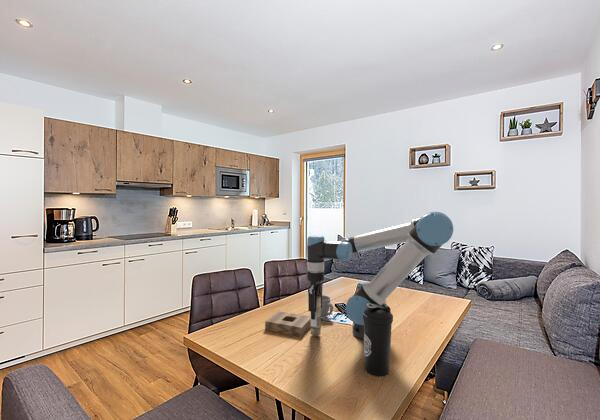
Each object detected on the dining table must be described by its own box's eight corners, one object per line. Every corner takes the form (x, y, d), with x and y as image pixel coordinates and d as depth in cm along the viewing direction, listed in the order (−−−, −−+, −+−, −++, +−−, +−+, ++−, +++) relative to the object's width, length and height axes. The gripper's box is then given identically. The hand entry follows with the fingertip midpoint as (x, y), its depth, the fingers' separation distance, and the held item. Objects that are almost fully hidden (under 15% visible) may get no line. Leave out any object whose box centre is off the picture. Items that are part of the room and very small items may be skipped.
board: (312, 324, 145) (312, 316, 144) (301, 336, 132) (301, 327, 131) (278, 319, 151) (278, 311, 151) (265, 329, 138) (265, 321, 138)
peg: (322, 332, 133) (322, 296, 133) (318, 336, 129) (318, 299, 129) (312, 330, 135) (312, 295, 135) (309, 334, 131) (309, 298, 131)
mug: (309, 315, 156) (309, 297, 156) (321, 311, 162) (321, 294, 162) (326, 322, 148) (326, 303, 147) (338, 318, 153) (338, 299, 153)
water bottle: (358, 362, 111) (359, 300, 110) (385, 361, 111) (386, 300, 111) (367, 378, 100) (368, 310, 100) (396, 377, 101) (397, 309, 101)
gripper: (314, 266, 141) (314, 316, 142) (300, 274, 125) (300, 330, 125) (329, 267, 139) (329, 318, 139) (317, 276, 122) (317, 333, 123)
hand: (315, 323), depth 132 cm, fingers closed on peg, 4 cm apart
